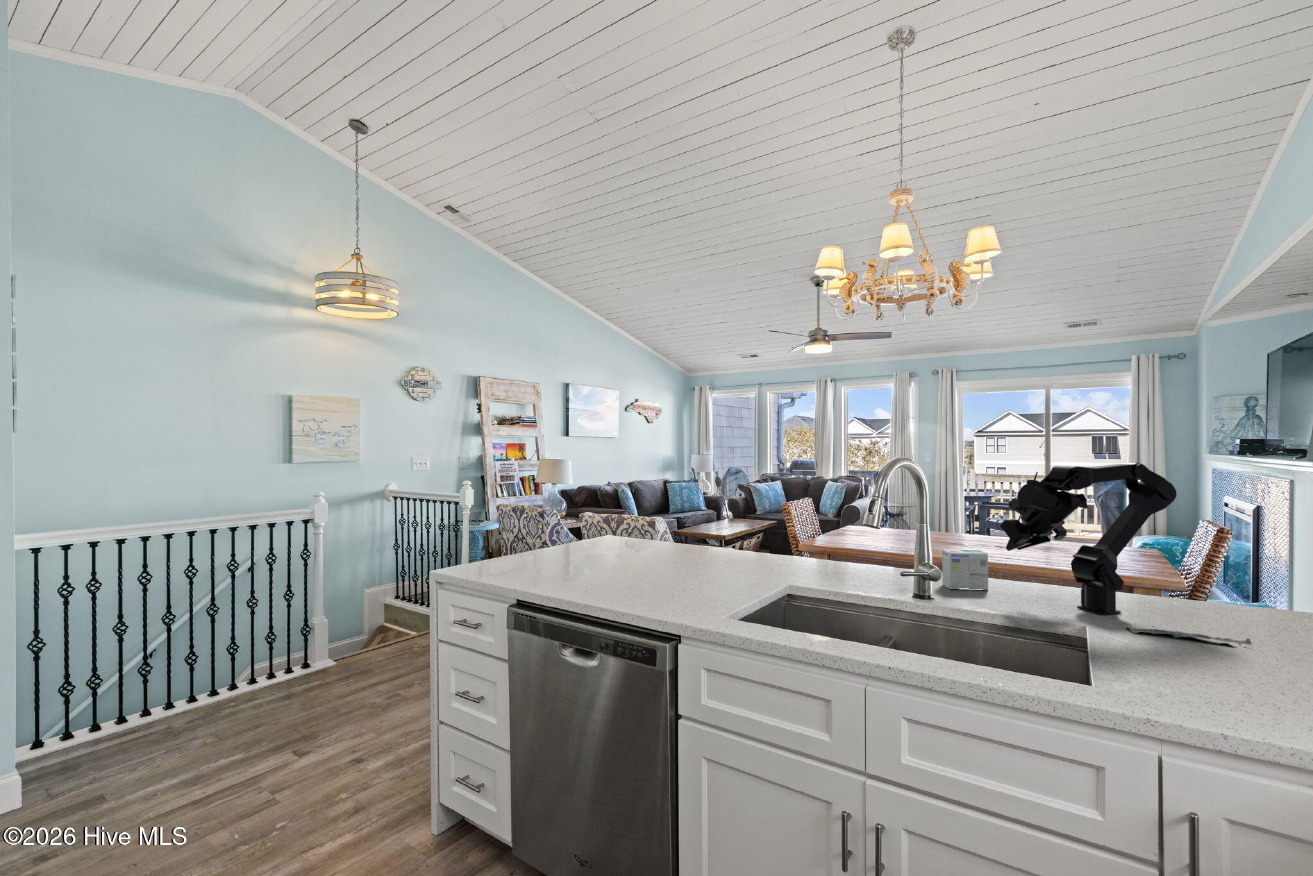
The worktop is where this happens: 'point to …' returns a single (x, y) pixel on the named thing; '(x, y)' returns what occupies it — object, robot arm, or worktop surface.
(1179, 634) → the driftwood
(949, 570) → the light bulb box
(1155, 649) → the worktop surface
